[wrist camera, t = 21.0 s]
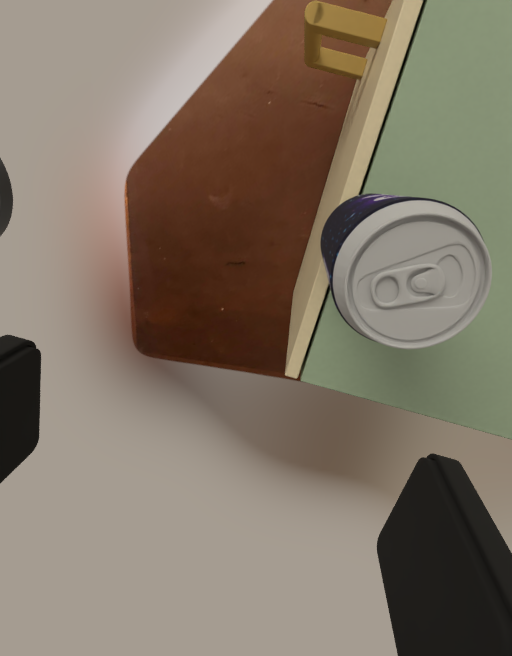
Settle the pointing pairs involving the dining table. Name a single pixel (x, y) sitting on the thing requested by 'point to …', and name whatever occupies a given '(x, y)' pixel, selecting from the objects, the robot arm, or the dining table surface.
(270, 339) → the dining table surface
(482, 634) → the robot arm
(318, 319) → the cupboard
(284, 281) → the dining table surface
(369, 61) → the cupboard door
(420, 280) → the beverage can
